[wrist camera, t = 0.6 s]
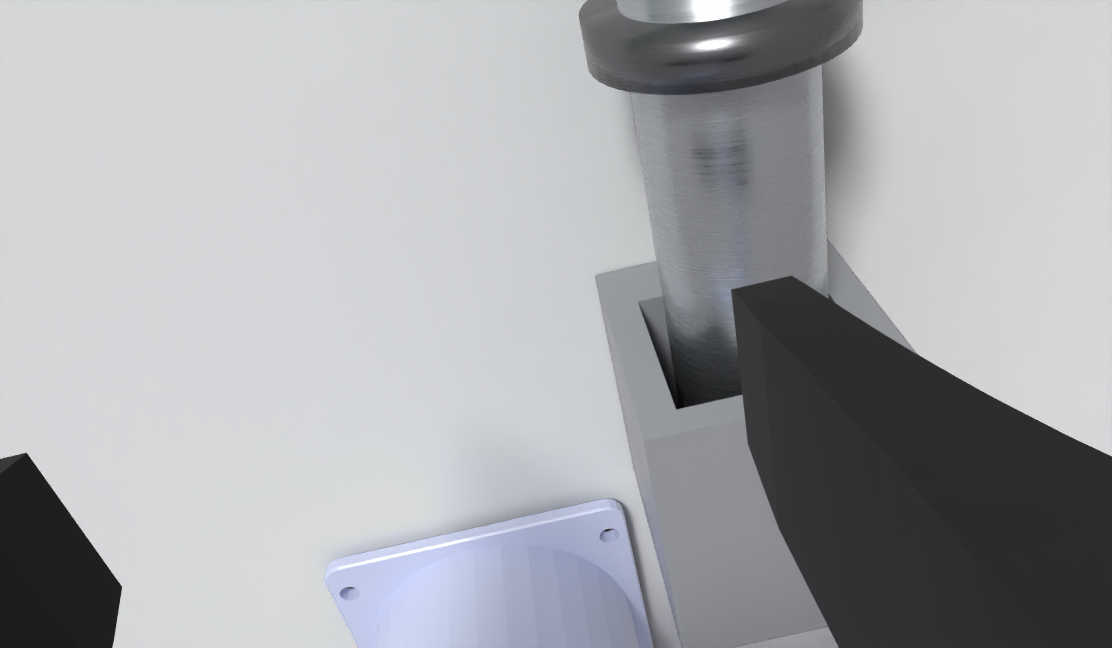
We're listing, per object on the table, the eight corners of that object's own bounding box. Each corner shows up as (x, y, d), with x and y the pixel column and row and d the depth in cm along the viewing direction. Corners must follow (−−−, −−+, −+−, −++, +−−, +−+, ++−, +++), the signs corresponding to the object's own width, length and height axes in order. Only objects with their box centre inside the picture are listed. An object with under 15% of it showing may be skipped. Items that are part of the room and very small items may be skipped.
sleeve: (824, 430, 23) (921, 605, 18) (634, 473, 23) (684, 658, 19) (816, 224, 20) (933, 375, 15) (594, 275, 20) (643, 440, 15)
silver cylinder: (822, 429, 22) (897, 563, 18) (652, 468, 22) (694, 608, 18) (794, -324, 13) (923, -347, 10) (517, -259, 13) (546, -256, 10)
